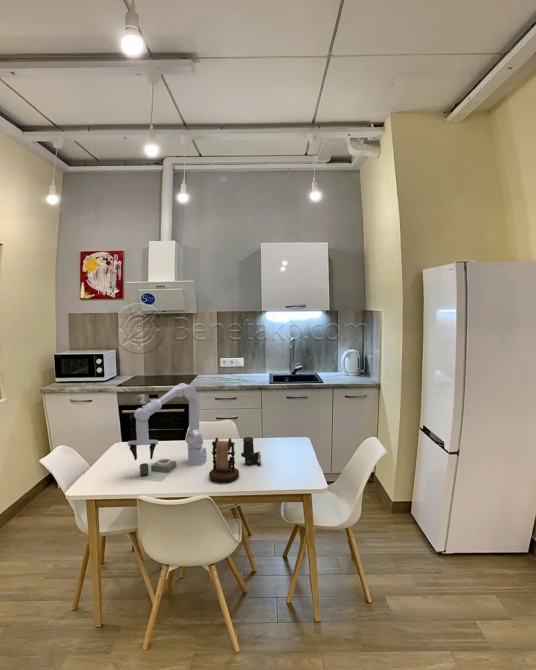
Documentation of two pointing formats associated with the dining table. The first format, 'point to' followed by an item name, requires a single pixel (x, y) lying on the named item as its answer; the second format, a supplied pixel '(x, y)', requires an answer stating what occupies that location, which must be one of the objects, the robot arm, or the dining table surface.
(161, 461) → the camera body
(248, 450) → the scope
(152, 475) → the mat
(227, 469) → the scroll
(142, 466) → the lens
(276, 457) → the dining table surface
